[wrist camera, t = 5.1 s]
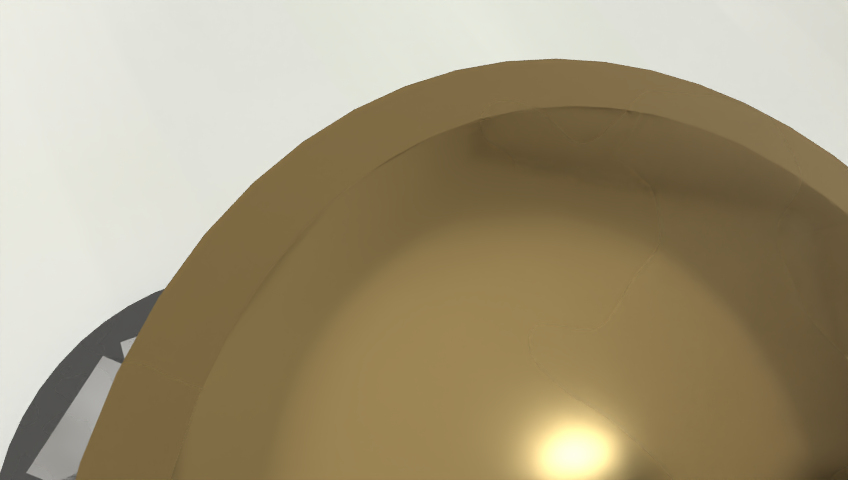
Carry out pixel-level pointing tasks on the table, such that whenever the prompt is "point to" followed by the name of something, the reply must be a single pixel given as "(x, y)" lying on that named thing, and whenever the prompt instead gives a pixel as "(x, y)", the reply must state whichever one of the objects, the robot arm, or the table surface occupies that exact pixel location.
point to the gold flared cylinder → (507, 297)
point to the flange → (73, 400)
